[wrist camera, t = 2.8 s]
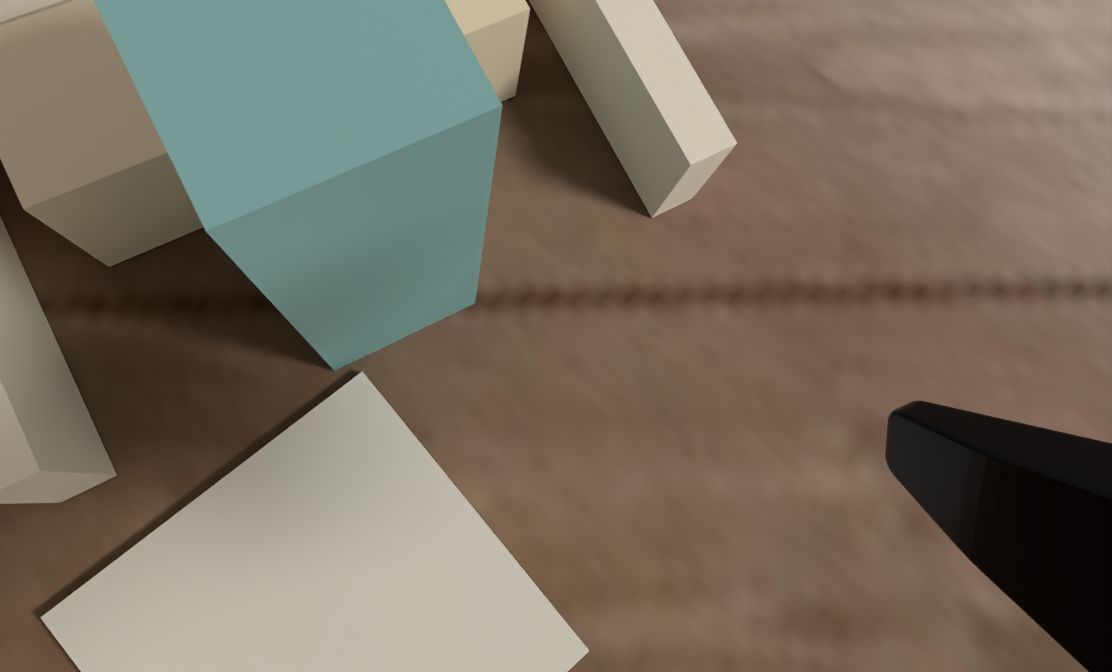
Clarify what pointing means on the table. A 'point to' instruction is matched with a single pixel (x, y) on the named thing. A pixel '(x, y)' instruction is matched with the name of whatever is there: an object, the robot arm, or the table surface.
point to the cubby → (167, 212)
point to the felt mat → (320, 568)
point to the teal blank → (326, 152)
